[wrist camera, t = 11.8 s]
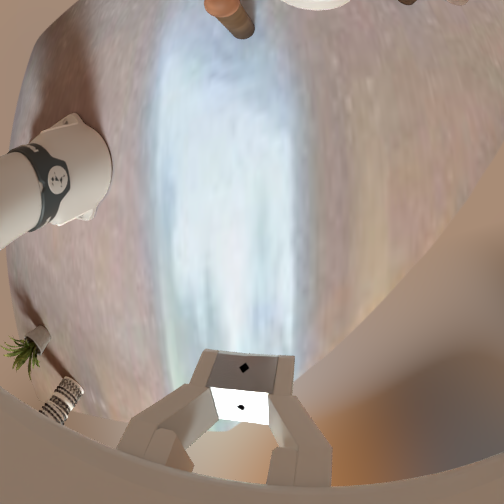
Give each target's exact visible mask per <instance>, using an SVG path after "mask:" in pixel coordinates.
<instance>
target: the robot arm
mask: <svg viewBox="0 0 504 504" xmlns="http://www.w3.org/2000/svg"><path fill="white" fill-rule="evenodd" d="M111 173H112V167H111V159H110V154H109V151H108V148H107V146H106V144H105V142H104V140H103V138H102V137H101V136H100V135H99V133H98V132H96V131H95V130H94V129H93V128H91V127H89V126H87V125H86V124H84V123H83V121H82V120H81V118H80V117H79V115H78V114H76V113H72V114H69V115H67V116H66V117H64V118H63V119H62V120H60V121H59V122H57V123H56V124H54V125H53V126H52V127H50V128H49V129H46V130H43V131H41V132H40V134H39V135H38V136H36V137H35V138H34V139H33V140H32V141H31V142H30V143H29V144H27V145H21V146H19V147H16V148H15V149H12V150H10V151H9V152H8V153H7V154H6V155H3V156H0V250H1V249H3V248H4V247H5V246H7V245H8V244H10V243H11V242H12V241H14V240H15V239H17V238H18V237H20V236H21V235H23V234H24V233H26V232H32V231H34V230H36V229H40V228H42V227H43V226H45V225H46V224H47V223H51V224H52V225H56V224H57V225H58V226H61V225H63V224H65V223H67V222H69V221H71V220H73V219H80V220H85V221H89V220H91V219H93V217H94V215H95V212H96V208H97V205H98V204H99V202H100V201H101V200H102V199H103V198H104V196H105V195H106V193H107V191H108V188H109V185H110V181H111ZM294 362H295V356H286V355H266V354H250V353H249V354H246V353H237V352H229V351H221V350H220V351H219V350H212V349H205V350H204V351H203V352H202V354H201V357H200V359H199V362H198V364H197V366H196V369H195V371H194V373H193V376H192V378H191V381H190V383H189V384H184V385H182V386H181V387H179V388H178V389H176V390H175V391H173V392H172V393H170V394H169V395H167V396H166V397H164V398H163V399H161V400H159V401H158V402H156V403H155V404H153V405H152V406H150V407H149V408H147V409H145V410H144V411H142V412H141V413H139V414H137V415H136V416H134V417H133V418H131V420H130V422H129V424H128V426H127V428H126V430H125V432H124V434H123V436H122V438H121V440H120V442H119V444H118V445H117V448H116V449H115V448H112V447H110V446H107V445H105V444H102V443H100V442H98V441H95V440H93V439H91V438H88V437H86V436H84V435H82V434H80V433H78V432H76V431H74V430H72V429H70V428H68V427H66V426H64V425H62V424H60V423H58V422H56V421H54V420H53V419H51V418H49V417H47V416H45V415H44V414H42V413H40V412H39V411H37V410H35V409H33V408H32V407H30V406H29V405H27V404H25V403H24V402H22V401H21V400H19V399H18V398H16V397H15V396H13V395H12V394H10V393H9V392H7V391H6V390H4V389H3V388H2V387H0V504H504V452H502V453H500V454H497V455H494V456H492V457H489V458H486V459H484V460H481V461H478V462H475V463H472V464H469V465H465V466H462V467H459V468H455V469H452V470H448V471H444V472H440V473H436V474H431V475H427V476H422V477H417V478H412V479H406V480H400V481H394V482H386V483H379V484H369V485H358V486H340V487H331V476H332V447H331V445H330V444H329V442H328V441H327V440H326V438H325V437H324V435H323V434H322V433H321V431H320V430H319V428H318V427H317V426H316V424H315V423H314V421H313V420H312V418H311V417H310V416H309V414H308V413H307V411H306V410H305V408H304V407H303V406H302V404H301V402H300V401H299V400H298V398H297V397H296V396H292V393H293V378H294ZM218 418H219V419H227V420H236V421H245V422H253V423H261V424H269V427H270V429H271V431H272V433H273V435H274V437H275V439H276V441H277V443H278V445H279V447H277V448H275V449H274V450H273V451H272V455H271V461H270V467H269V472H268V477H267V482H266V484H257V483H248V482H240V481H234V480H228V479H222V478H216V477H211V476H206V475H201V474H197V473H192V471H193V467H194V464H193V462H192V461H191V459H190V457H189V456H188V454H187V452H186V451H185V450H186V449H187V448H188V447H189V446H191V444H193V443H194V442H195V441H196V440H197V439H198V438H199V437H201V436H202V435H203V434H204V433H205V432H206V431H207V430H208V429H209V428H211V427H212V426H213V425H214V424H215V423H216V422H217V421H218V420H219V419H218Z"/></svg>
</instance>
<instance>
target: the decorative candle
mask: <svg viewBox="0 0 504 504" xmlns="http://www.w3.org/2000/svg"><path fill="white" fill-rule="evenodd" d="M83 393H84V390H83V388H82V387H81V386H80V385H79V384H78V383H77V382H76V381H75V380H73V379H72V378H70V377H67V376H65V377H64V379H62V381H61V382H60V384H59V386H57V389H55V391H54V393H53V395H52V397H51V399H50V400H48V401H47V403H45V407H44V406H42V408H43V411H41V410H39V412H40V413H42V414H44V415H45V416H47V417H49V418H51V419H53V420H54V421H56V422H58V423H60V424H62V425H64V421H66V419H67V418H68V416H67V415H68V414H69V412H70V411H71V410H72V409H73V407H75V404H77V401H78V400H80V397H81V396H82V394H83Z"/></svg>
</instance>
